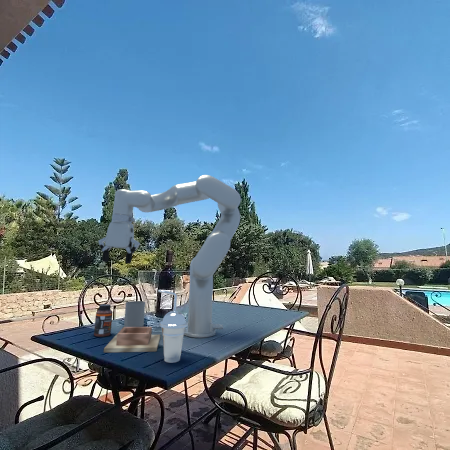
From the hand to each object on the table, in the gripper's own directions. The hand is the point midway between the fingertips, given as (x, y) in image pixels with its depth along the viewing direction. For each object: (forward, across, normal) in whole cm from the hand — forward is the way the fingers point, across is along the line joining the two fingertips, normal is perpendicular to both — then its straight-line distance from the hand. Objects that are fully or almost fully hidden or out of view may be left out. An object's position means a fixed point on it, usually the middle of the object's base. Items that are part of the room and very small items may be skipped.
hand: (116, 262), depth 110 cm
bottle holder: (+27, -16, +9) cm, 32 cm away
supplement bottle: (+28, +2, 0) cm, 28 cm away
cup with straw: (+26, -33, +20) cm, 47 cm away
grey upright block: (+27, -2, -17) cm, 33 cm away
